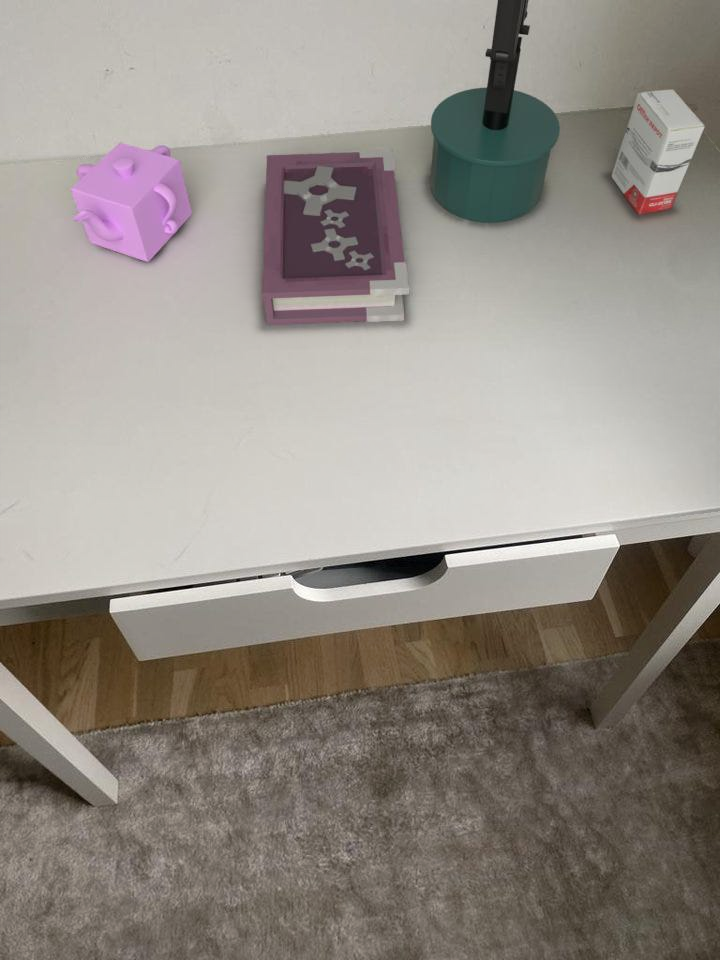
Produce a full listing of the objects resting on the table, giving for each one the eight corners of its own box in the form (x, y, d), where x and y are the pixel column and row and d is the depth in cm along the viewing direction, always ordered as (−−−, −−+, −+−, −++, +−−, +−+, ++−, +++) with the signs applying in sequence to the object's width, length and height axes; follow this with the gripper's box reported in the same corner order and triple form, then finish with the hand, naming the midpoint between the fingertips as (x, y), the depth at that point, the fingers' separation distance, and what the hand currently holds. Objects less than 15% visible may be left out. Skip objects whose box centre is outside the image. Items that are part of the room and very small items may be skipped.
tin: (547, 163, 104) (561, 103, 97) (532, 231, 97) (545, 171, 89) (443, 147, 106) (448, 87, 99) (420, 212, 99) (424, 152, 92)
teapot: (142, 297, 90) (119, 227, 82) (47, 264, 94) (16, 193, 85) (220, 209, 99) (206, 137, 91) (131, 181, 102) (110, 109, 94)
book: (407, 320, 88) (409, 287, 84) (267, 325, 88) (262, 293, 84) (391, 183, 102) (392, 149, 98) (270, 187, 102) (266, 154, 97)
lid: (565, 106, 98) (584, 22, 89) (549, 180, 90) (568, 96, 81) (444, 88, 100) (451, 5, 92) (417, 159, 92) (423, 75, 83)
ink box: (672, 209, 99) (707, 124, 89) (637, 216, 98) (668, 130, 88) (643, 170, 103) (673, 85, 93) (609, 176, 103) (636, 90, 93)
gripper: (509, -173, 77) (479, 61, 96) (480, -108, 68) (454, 135, 88) (584, -166, 76) (539, 69, 95) (565, -99, 67) (519, 145, 87)
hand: (498, 100), depth 91 cm, fingers closed on lid, 3 cm apart
